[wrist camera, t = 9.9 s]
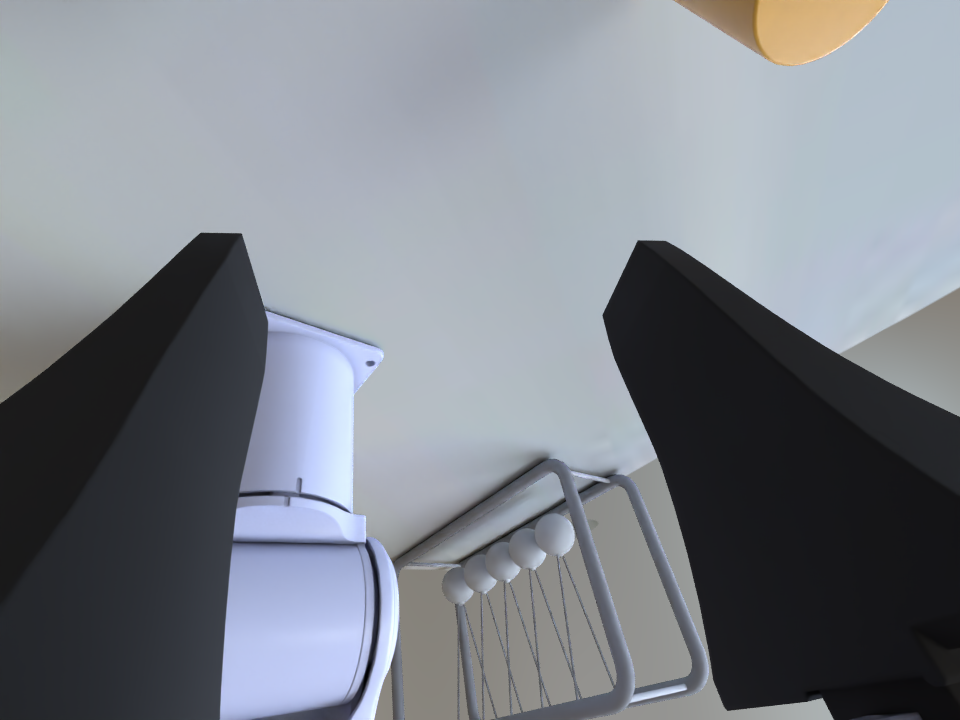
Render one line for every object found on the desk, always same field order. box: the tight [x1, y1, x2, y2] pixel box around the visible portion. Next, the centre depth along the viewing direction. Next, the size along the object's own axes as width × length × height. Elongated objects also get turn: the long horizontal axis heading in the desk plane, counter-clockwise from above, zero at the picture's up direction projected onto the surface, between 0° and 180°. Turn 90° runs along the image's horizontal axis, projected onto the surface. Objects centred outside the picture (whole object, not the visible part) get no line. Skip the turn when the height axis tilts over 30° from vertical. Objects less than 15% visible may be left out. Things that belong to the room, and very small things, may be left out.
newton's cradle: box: [391, 459, 709, 720], centre depth 44 cm, size 30×10×18 cm, turn 142°
